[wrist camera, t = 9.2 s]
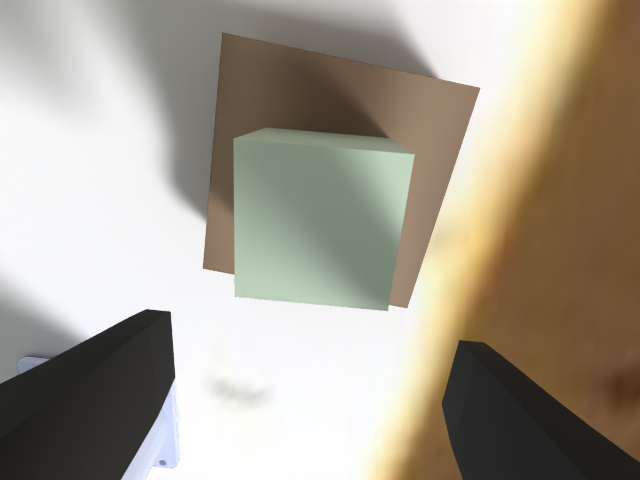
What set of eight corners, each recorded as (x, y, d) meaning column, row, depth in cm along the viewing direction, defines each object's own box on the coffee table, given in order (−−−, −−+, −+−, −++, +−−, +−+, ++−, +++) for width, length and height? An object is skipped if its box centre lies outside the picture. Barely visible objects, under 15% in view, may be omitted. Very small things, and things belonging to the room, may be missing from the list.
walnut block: (229, 236, 19) (202, 268, 15) (249, 49, 16) (222, 32, 12) (393, 268, 19) (407, 308, 15) (446, 92, 16) (480, 87, 12)
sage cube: (264, 241, 15) (234, 296, 10) (267, 127, 13) (233, 138, 9) (373, 251, 14) (387, 310, 10) (389, 138, 13) (415, 154, 9)
